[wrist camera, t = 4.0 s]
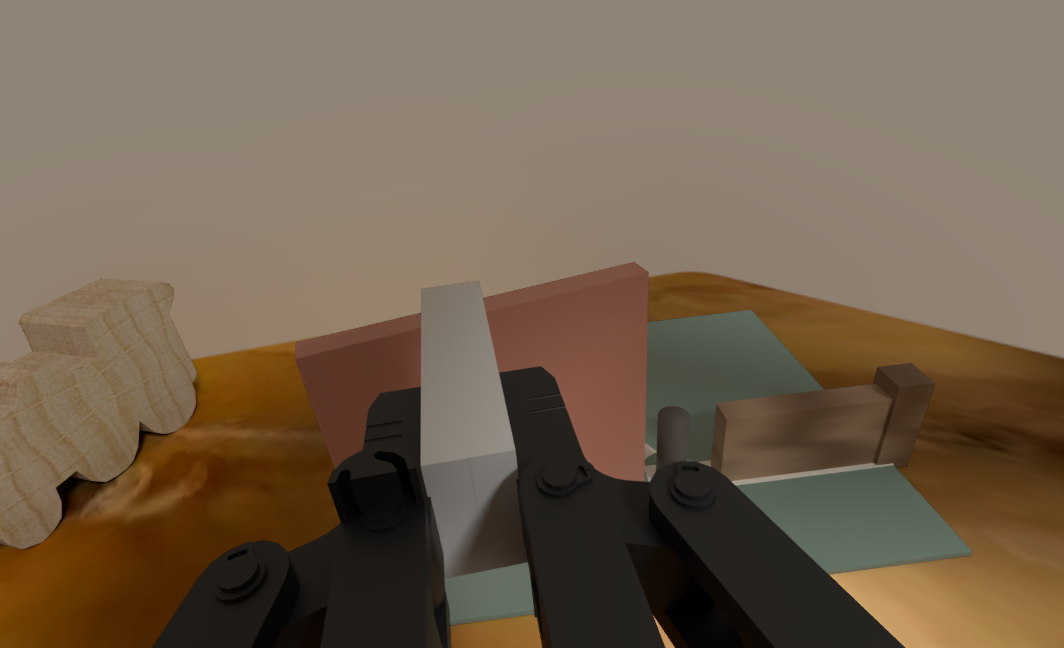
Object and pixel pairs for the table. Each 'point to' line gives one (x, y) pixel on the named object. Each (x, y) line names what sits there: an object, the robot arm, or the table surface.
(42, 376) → the toy train
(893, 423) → the fence wall
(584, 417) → the gate panel
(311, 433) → the table surface
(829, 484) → the card
